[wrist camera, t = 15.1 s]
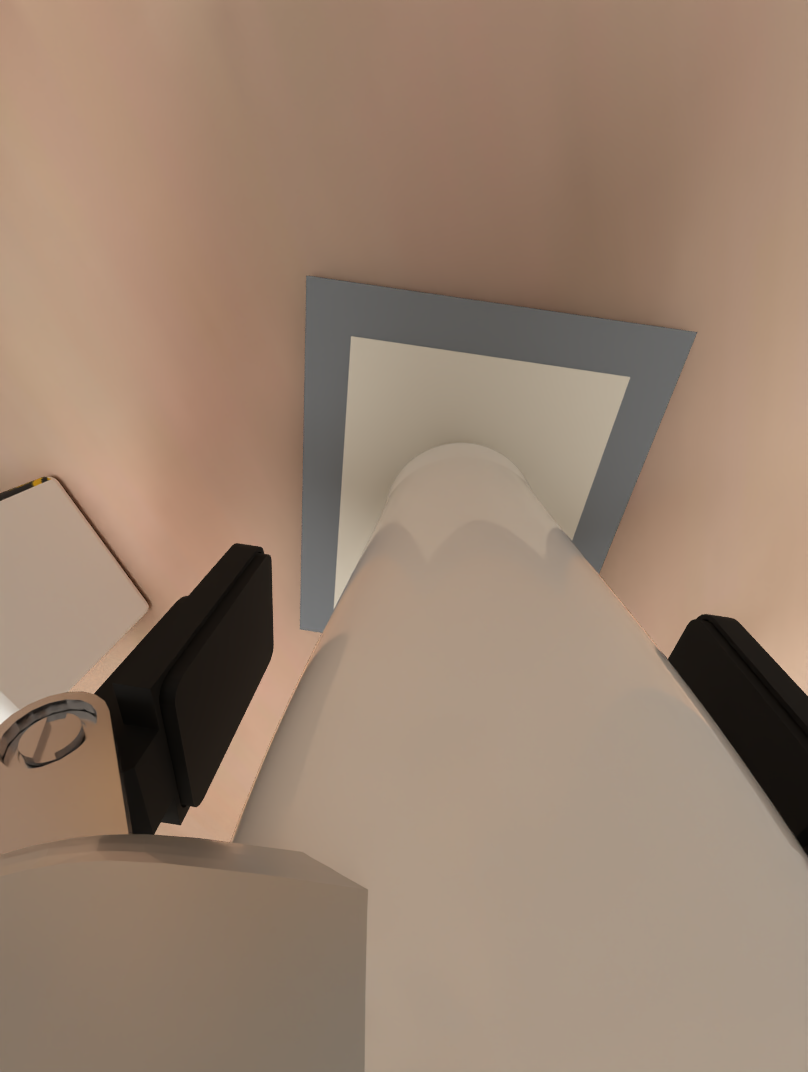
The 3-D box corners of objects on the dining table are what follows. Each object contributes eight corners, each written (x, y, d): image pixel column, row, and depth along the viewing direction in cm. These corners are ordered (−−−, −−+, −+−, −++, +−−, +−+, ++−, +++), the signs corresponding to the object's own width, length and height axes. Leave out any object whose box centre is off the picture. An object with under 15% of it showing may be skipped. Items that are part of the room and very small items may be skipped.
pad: (311, 276, 14) (305, 275, 13) (687, 331, 14) (698, 332, 13) (303, 621, 20) (299, 630, 20) (556, 659, 20) (560, 670, 20)
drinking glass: (573, 546, 17) (1100, 1472, 3) (416, 603, 18) (360, 1354, 5) (512, 380, 14) (1780, 1632, 1) (335, 466, 16) (-195, 1283, 3)
